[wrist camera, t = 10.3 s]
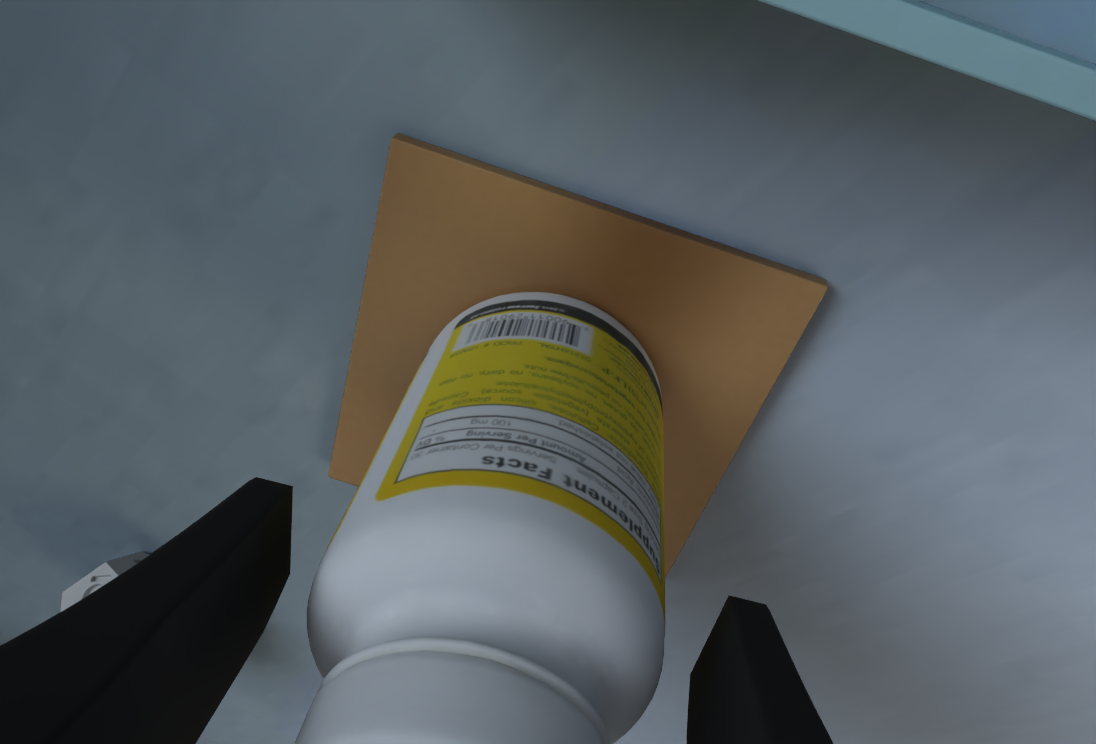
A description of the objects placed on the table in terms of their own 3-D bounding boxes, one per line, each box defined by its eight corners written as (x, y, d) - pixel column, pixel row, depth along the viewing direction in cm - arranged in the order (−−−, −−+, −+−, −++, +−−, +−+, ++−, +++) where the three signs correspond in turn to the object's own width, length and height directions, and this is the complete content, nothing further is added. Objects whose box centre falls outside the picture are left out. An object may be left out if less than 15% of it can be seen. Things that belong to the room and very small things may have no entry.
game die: (129, 514, 22) (58, 595, 19) (239, 586, 23) (185, 672, 20) (81, 572, 24) (10, 653, 21) (186, 637, 24) (130, 722, 22)
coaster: (826, 279, 15) (829, 287, 15) (662, 573, 20) (661, 584, 20) (397, 131, 15) (391, 136, 15) (333, 467, 20) (327, 477, 20)
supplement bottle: (541, 521, 19) (444, 986, 11) (378, 378, 18) (124, 797, 9) (716, 409, 17) (761, 897, 9) (547, 232, 15) (404, 623, 7)
